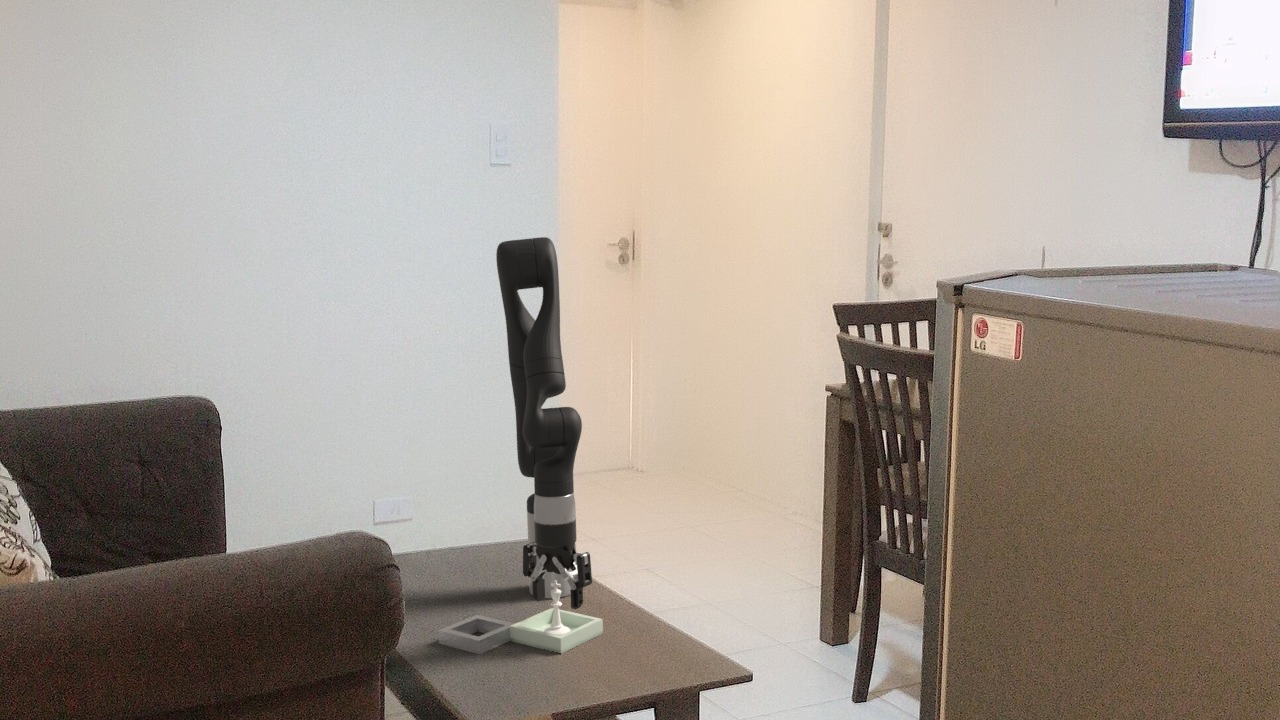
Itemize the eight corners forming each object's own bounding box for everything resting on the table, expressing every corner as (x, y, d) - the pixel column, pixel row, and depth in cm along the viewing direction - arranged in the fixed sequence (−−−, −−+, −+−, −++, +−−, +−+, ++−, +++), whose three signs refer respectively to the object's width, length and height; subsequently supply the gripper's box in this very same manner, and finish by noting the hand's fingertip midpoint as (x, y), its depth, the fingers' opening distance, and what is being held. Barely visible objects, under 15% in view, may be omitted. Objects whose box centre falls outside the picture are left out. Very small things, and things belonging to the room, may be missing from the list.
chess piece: (566, 639, 208) (565, 585, 207) (540, 637, 209) (538, 584, 208) (573, 630, 213) (572, 577, 211) (547, 628, 214) (546, 576, 212)
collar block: (477, 627, 217) (477, 614, 217) (517, 637, 211) (517, 624, 211) (439, 643, 209) (438, 630, 208) (479, 654, 203) (478, 640, 203)
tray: (552, 622, 219) (552, 607, 219) (603, 633, 212) (602, 619, 212) (510, 640, 209) (509, 625, 209) (561, 653, 202) (560, 638, 202)
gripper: (599, 517, 207) (601, 605, 209) (538, 507, 215) (541, 591, 217) (573, 527, 201) (575, 617, 203) (511, 516, 209) (514, 603, 211)
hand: (557, 604), depth 210 cm, fingers open, 8 cm apart
